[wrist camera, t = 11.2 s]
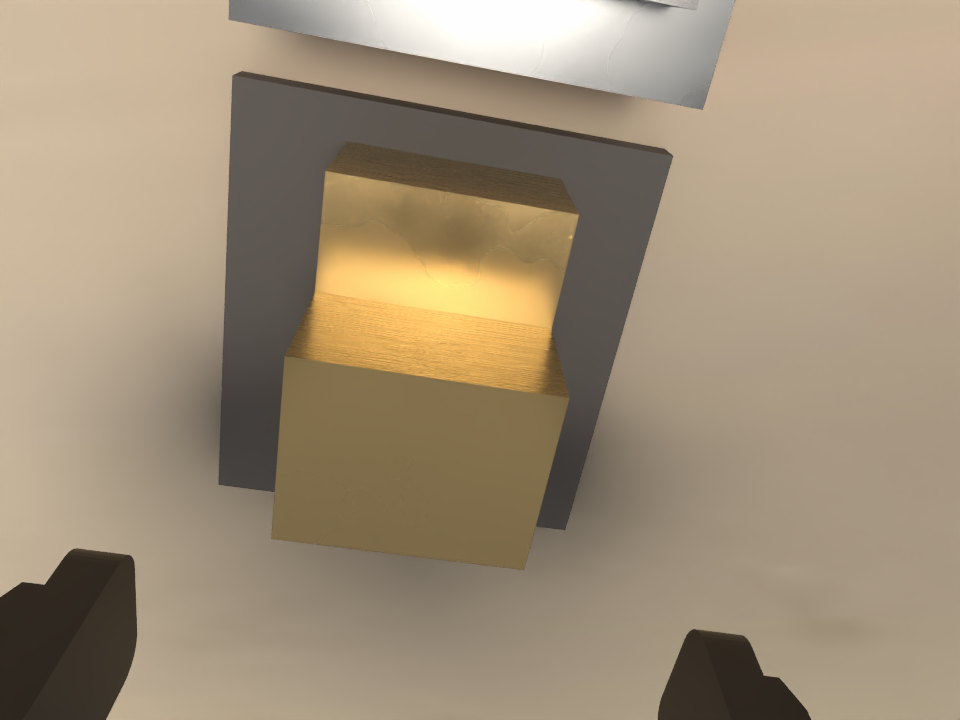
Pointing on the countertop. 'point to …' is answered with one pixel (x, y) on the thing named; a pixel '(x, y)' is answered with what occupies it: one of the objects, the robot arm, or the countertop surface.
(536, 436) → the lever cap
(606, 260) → the rubber mat
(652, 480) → the countertop surface
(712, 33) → the grey block holder tray
